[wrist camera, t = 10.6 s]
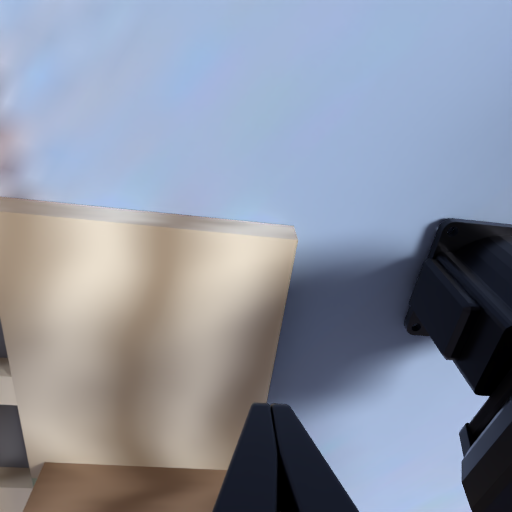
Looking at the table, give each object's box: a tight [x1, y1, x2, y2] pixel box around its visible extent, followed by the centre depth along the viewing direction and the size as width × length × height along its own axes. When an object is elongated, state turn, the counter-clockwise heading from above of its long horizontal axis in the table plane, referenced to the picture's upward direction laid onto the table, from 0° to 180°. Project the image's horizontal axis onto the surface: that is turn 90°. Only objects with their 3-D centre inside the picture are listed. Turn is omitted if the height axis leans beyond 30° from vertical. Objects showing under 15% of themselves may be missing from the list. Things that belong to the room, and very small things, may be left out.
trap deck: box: [0, 197, 298, 512], centre depth 23 cm, size 20×22×2 cm
